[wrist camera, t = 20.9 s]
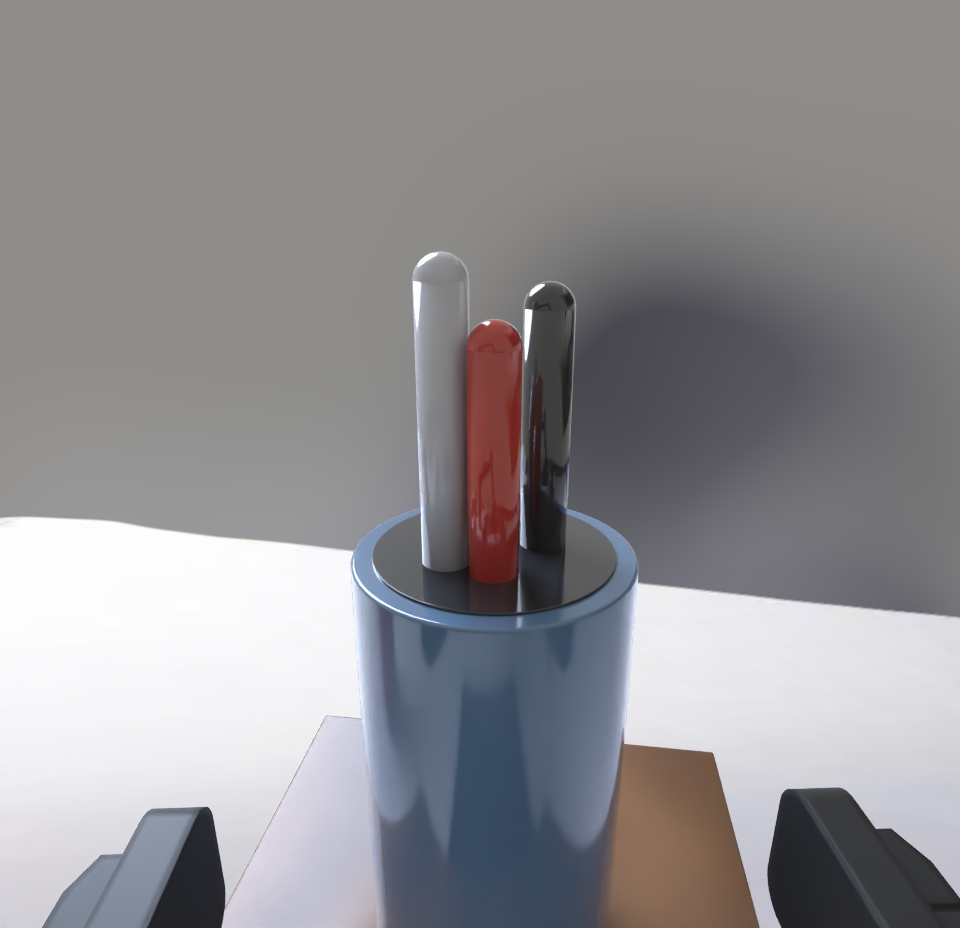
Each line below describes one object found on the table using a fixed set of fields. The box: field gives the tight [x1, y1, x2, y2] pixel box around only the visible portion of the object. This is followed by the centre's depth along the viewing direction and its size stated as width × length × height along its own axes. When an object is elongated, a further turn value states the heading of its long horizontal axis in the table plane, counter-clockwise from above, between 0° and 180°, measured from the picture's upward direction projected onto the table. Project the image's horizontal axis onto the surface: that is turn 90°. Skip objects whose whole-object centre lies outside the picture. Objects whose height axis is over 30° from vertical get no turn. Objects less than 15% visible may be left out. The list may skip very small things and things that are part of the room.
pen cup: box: [351, 251, 639, 928], centre depth 13 cm, size 5×5×16 cm
